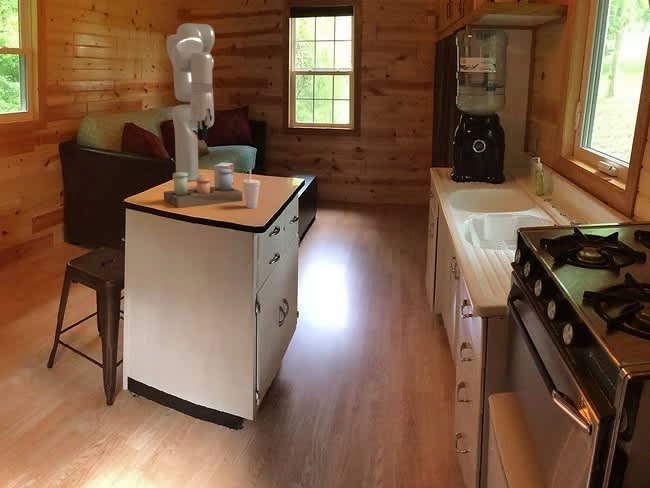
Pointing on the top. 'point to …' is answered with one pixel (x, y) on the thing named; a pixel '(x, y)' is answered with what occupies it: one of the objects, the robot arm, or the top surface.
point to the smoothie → (251, 192)
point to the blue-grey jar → (224, 179)
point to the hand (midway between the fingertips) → (202, 139)
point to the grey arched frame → (224, 166)
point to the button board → (202, 197)
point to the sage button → (180, 184)
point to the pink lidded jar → (203, 185)
